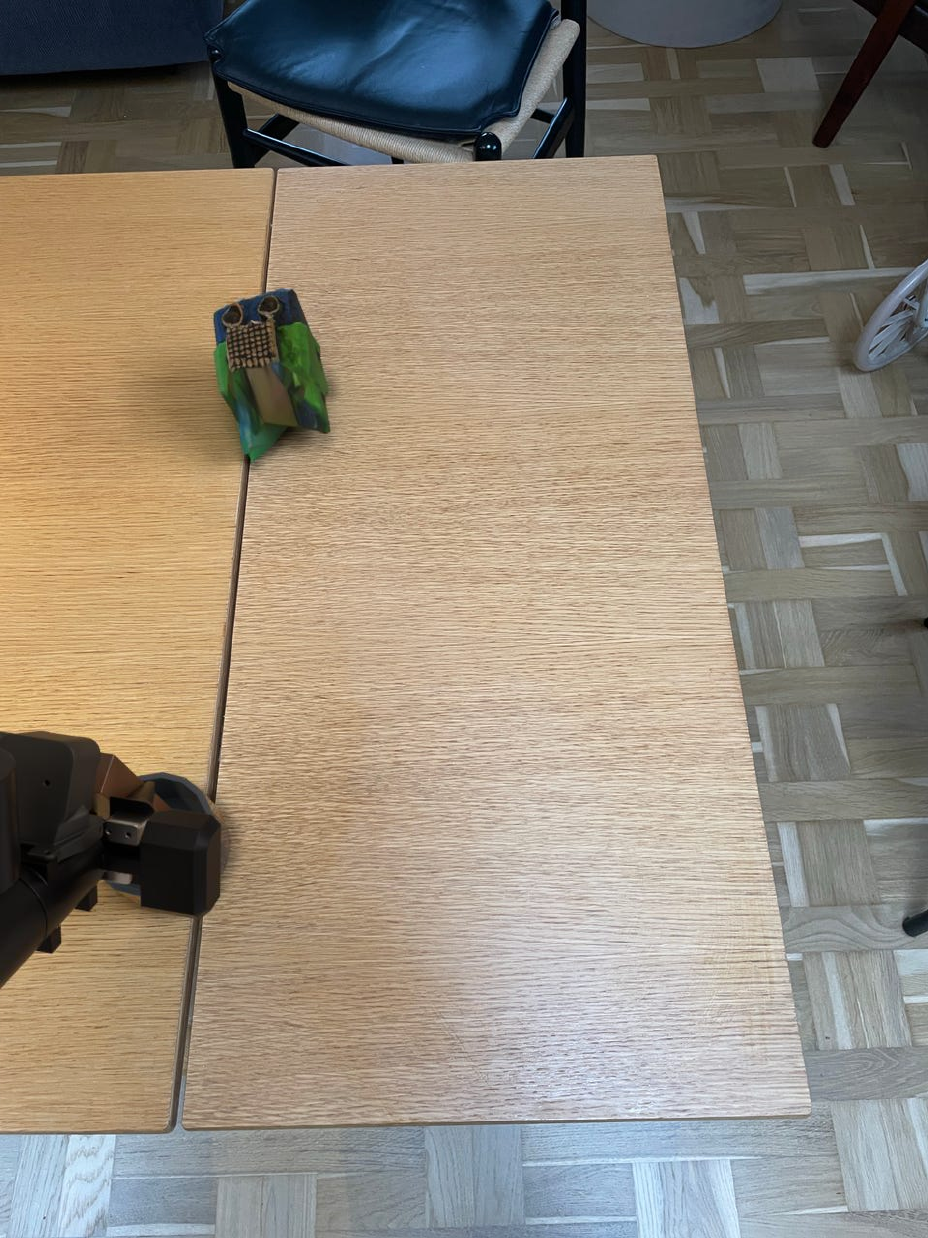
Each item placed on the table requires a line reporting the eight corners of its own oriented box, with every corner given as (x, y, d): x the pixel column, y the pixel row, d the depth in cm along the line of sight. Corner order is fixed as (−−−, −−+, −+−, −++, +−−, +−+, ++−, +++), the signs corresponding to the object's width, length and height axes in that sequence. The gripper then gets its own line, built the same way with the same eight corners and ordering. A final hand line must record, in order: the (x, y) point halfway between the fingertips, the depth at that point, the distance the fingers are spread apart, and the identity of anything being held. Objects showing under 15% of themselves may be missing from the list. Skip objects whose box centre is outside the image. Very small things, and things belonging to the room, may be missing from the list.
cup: (173, 934, 76) (149, 921, 72) (91, 862, 79) (63, 845, 75) (254, 837, 80) (237, 819, 75) (172, 772, 83) (151, 750, 78)
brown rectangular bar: (168, 849, 73) (100, 793, 61) (135, 843, 73) (61, 787, 61) (179, 815, 74) (114, 754, 62) (146, 810, 74) (75, 748, 62)
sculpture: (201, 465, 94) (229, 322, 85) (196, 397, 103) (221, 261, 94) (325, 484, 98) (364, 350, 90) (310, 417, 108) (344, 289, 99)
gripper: (160, 808, 50) (265, 695, 65) (-175, 754, 52) (1, 657, 67) (161, 990, 53) (261, 844, 68) (-153, 933, 55) (10, 803, 70)
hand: (132, 784), depth 68 cm, fingers closed on brown rectangular bar, 2 cm apart
